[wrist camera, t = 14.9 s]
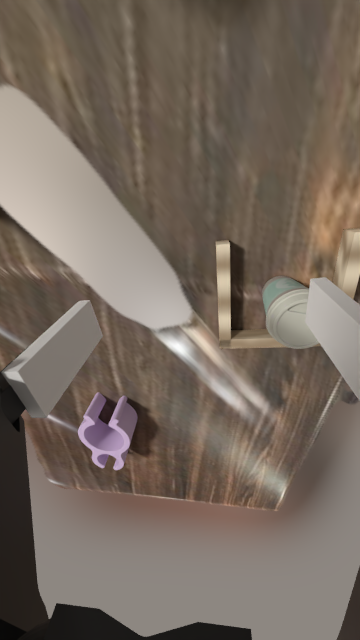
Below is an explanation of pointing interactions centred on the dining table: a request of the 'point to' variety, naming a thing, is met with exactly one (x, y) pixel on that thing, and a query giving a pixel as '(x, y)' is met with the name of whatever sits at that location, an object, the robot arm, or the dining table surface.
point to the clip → (108, 431)
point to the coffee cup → (287, 312)
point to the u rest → (353, 260)
